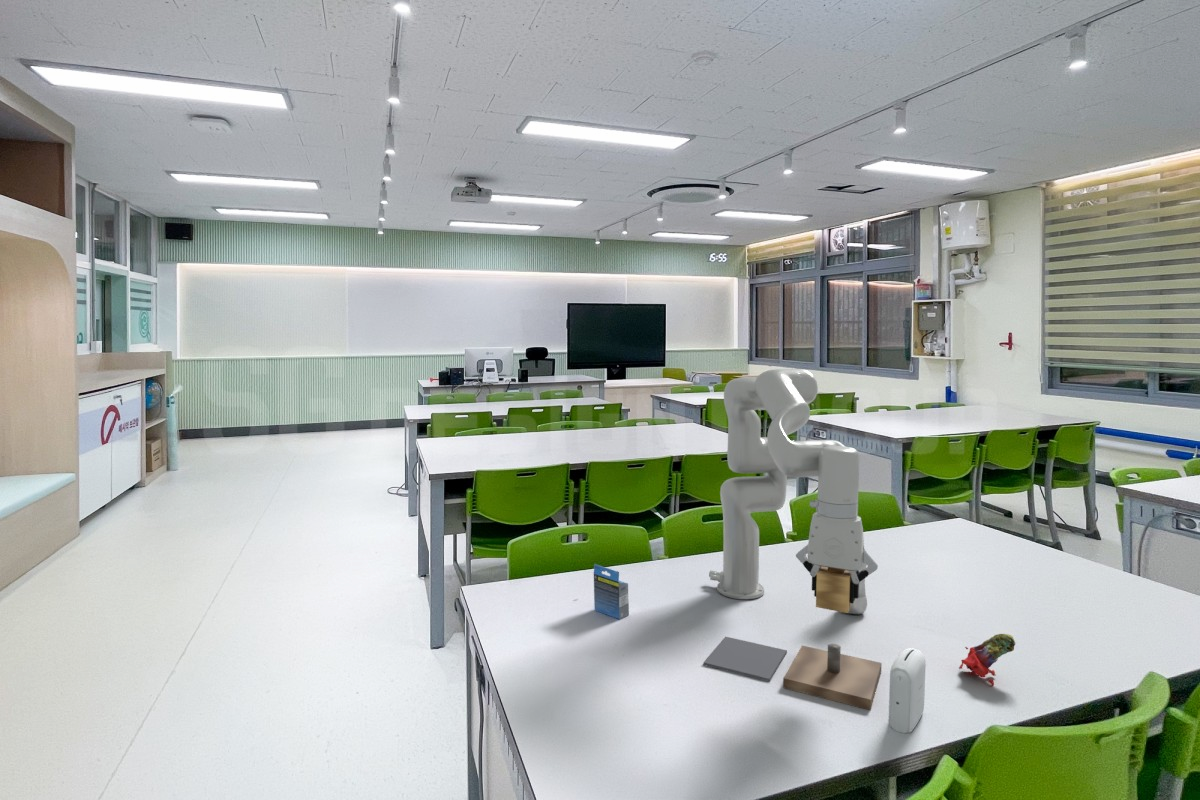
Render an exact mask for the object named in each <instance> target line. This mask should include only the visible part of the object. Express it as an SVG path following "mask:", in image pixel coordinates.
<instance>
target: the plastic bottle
mask: <svg viewBox="0 0 1200 800" xmlns="http://www.w3.org/2000/svg"><path fill="white" fill-rule="evenodd" d="M864 550H865V551H866V549H865V548H864ZM866 553H867V551H866ZM867 554H868V553H867ZM867 567H868V566H867V564H866V563H865V562H864V561H863V563H862V566H861V568H860V569H859V572H861V571H862V570H863V569H865V568H867ZM867 607H868V599H867V595H866V578H865V579H863V580H862V581H860V582H859V596H858V599H857V598H855V600H854V603H852V605H851V607H850V610H849V612H848V613H847V614H851V615H862V614H864V613H865V612H866V611H867Z"/></svg>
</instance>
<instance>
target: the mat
mask: <svg viewBox="0 0 1200 800" xmlns="http://www.w3.org/2000/svg"><path fill="white" fill-rule="evenodd" d="M787 654H788V651H787V649H783V648H778V647H775V646H769V645H764V644H759V643H755V642H751V641H747V640H742V639H738V638H734V637H730V636H724V638H723V639H722V640H721V641H720V642H719V643H718V644H717V646H716V647H715V648H714V649H713V651H711V653H710V654H709V655H708V656H707V657H706V659H705V660H704V661H703V666H705V665H707V666H706V667H709V666H710V668H714V669H717V668H718V669H719V670H721V669H722V671H726V672H729V673H733V674H737V675H741V676H745V677H750V678H753V679H757V680H762V681H765V682H769V683H770V682H771V680H772V678H773V677H774V676H775V674H776V672H777V670H778V668H779V667H780V665H781V663H782V662H783V660H784V659H785V657H786V655H787Z"/></svg>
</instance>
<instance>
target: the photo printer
mask: <svg viewBox="0 0 1200 800" xmlns="http://www.w3.org/2000/svg"><path fill="white" fill-rule="evenodd" d="M926 662H927V661H926V658H925V655H924V653H922V651H921V650H920V649H916V648H913V647H908V648H906V649H903V650H902V651H901V652H900V653H898V655H897V657H896V658H895V659H894V661H893V662H892V665H891V669H890V672H889V692H888V693H889V696H888V698H889V699H888V719H887V720H888V722H887V723H888V726H890V727H891V729H892V730H893V731H896V732H899V733H902V734H908V733H911V732H912V731H913V730H914V729H915V728H916V725H918V723H919V721H920V719H921V717H922V715H923V713H924V711H925V692H926V689H925V688H926V665H927V664H926Z"/></svg>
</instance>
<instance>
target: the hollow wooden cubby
mask: <svg viewBox="0 0 1200 800" xmlns="http://www.w3.org/2000/svg"><path fill="white" fill-rule="evenodd" d="M851 580H852V578H851V576H850V573H849V571H847V570H841V569H835V568H829V567H823V566H821V567H820V569H819V570H818V572H817V583H816V597H815V607H816V608H819V609H824V610H828V611H835V612H839V613H840V612H841V613H844V614H849V613H848V612H849V610H850V607H851V605H852V603H850V602H849V600H850V583H851Z"/></svg>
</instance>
